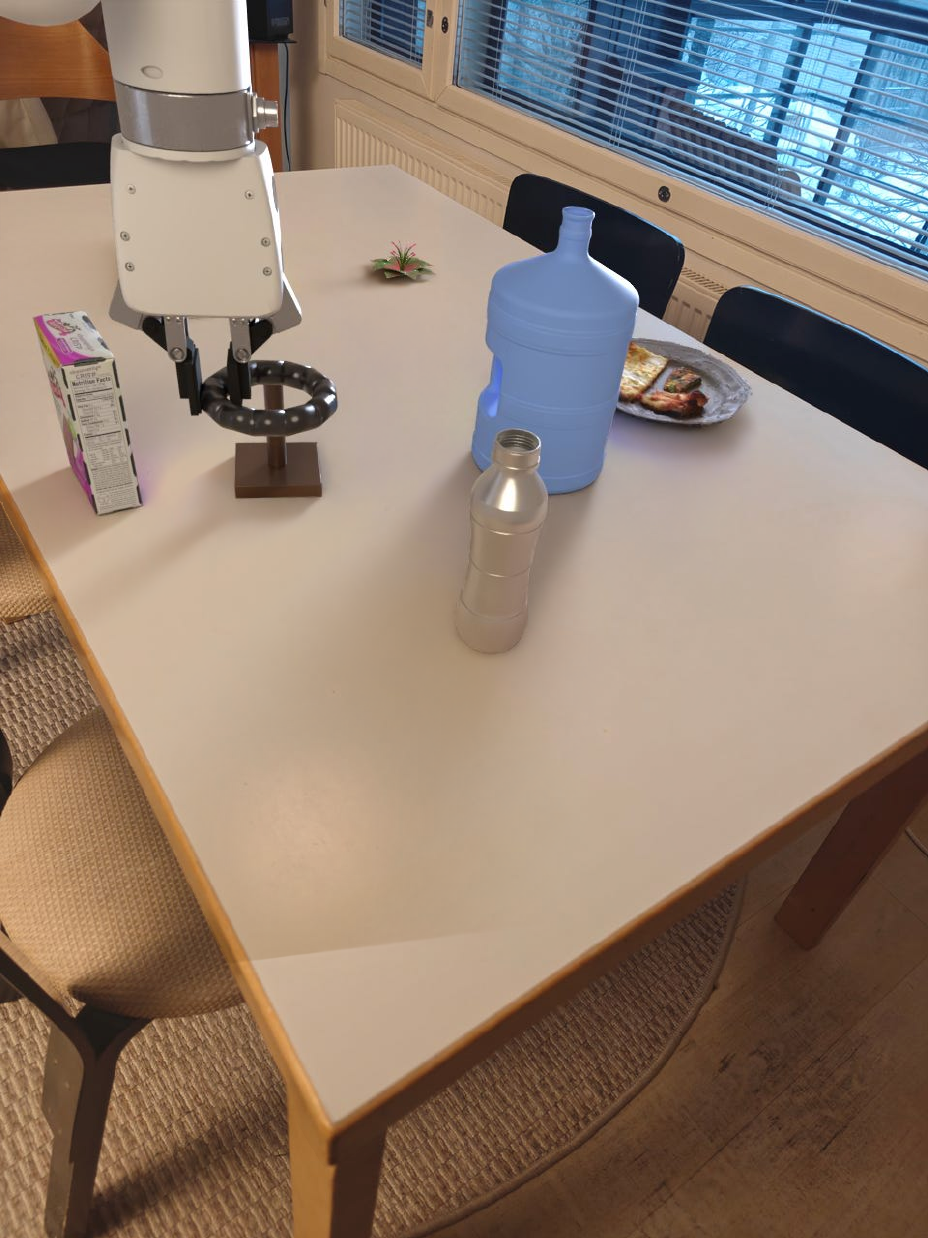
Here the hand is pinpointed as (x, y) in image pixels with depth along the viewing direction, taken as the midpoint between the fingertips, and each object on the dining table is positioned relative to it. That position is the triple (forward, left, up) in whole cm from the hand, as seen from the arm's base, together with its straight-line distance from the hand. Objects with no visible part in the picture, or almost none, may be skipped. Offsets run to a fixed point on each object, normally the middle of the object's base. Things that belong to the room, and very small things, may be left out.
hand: (217, 404), depth 62 cm
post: (+4, +25, -21) cm, 33 cm away
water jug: (+34, +27, -21) cm, 48 cm away
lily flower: (+26, +89, -21) cm, 95 cm away
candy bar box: (-14, +23, -21) cm, 34 cm away
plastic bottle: (+22, -3, -21) cm, 31 cm away
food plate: (+56, +45, -21) cm, 75 cm away
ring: (+4, 0, +1) cm, 4 cm away
